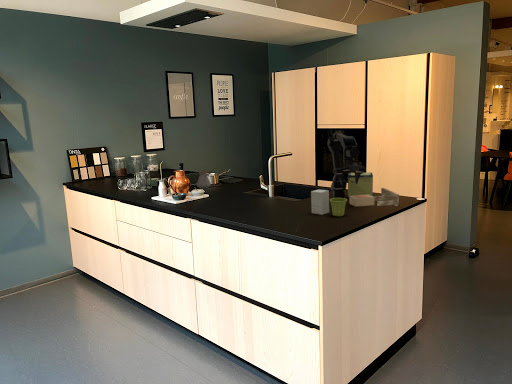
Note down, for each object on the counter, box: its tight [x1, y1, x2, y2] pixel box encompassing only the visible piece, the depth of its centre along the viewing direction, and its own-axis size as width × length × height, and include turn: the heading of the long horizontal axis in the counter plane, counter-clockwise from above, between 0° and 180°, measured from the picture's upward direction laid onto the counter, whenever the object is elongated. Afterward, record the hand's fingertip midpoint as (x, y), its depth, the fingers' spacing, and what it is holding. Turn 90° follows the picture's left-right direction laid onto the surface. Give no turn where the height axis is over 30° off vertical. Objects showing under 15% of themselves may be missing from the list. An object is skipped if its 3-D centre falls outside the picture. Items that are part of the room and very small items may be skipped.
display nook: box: [374, 187, 400, 207], centre depth 253 cm, size 11×22×7 cm, turn 6°
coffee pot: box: [196, 170, 214, 190], centre depth 331 cm, size 21×12×15 cm, turn 38°
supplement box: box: [310, 189, 330, 216], centre depth 235 cm, size 7×7×13 cm
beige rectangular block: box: [349, 195, 376, 208], centre depth 252 cm, size 12×9×5 cm
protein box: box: [347, 172, 374, 200], centre depth 271 cm, size 10×16×16 cm
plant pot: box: [329, 197, 348, 217], centre depth 228 cm, size 9×9×9 cm
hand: (349, 184), depth 247 cm, fingers open, 9 cm apart
